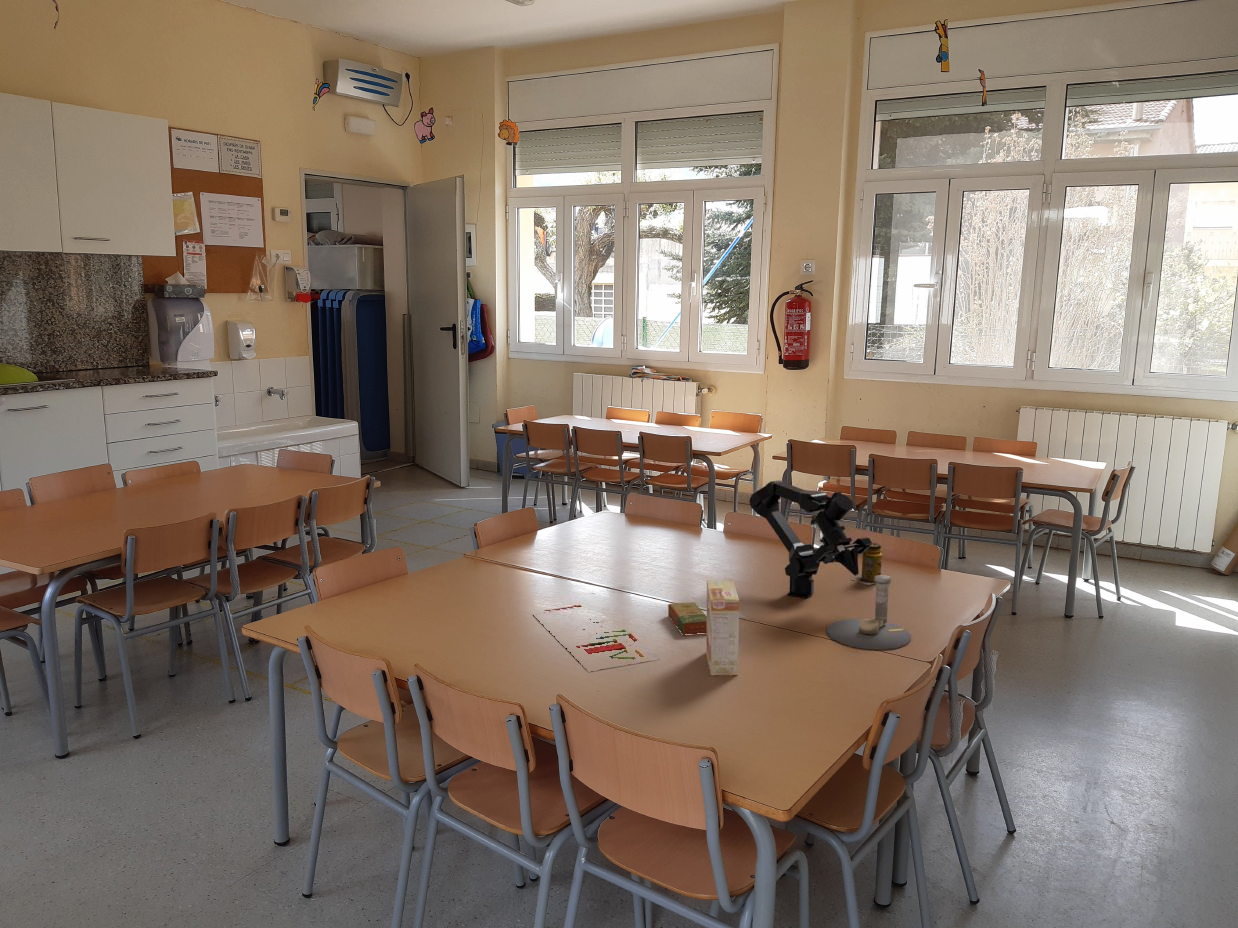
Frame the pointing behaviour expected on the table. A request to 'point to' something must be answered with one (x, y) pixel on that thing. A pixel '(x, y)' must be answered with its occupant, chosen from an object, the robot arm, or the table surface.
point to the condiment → (870, 564)
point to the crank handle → (877, 607)
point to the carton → (688, 618)
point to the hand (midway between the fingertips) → (856, 574)
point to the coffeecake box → (722, 627)
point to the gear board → (607, 647)
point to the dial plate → (868, 635)
